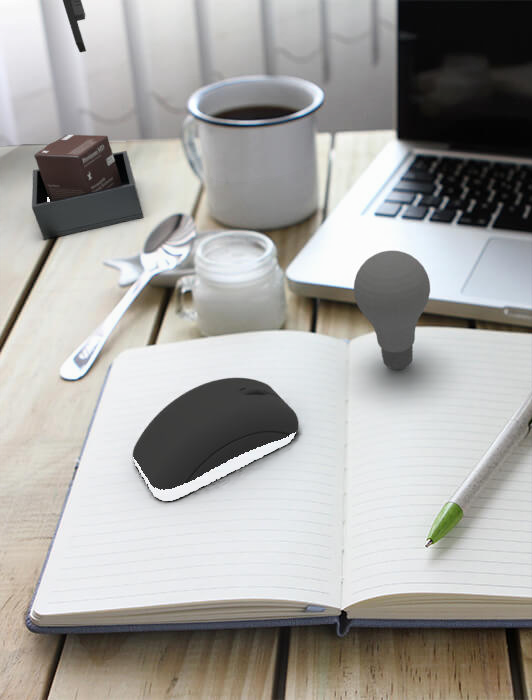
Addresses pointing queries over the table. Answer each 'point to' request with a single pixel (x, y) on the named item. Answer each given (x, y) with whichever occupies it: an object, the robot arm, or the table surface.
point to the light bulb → (393, 302)
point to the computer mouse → (211, 429)
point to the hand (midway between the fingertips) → (22, 61)
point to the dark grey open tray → (87, 205)
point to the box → (77, 166)
